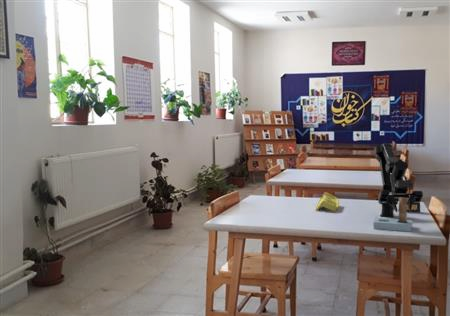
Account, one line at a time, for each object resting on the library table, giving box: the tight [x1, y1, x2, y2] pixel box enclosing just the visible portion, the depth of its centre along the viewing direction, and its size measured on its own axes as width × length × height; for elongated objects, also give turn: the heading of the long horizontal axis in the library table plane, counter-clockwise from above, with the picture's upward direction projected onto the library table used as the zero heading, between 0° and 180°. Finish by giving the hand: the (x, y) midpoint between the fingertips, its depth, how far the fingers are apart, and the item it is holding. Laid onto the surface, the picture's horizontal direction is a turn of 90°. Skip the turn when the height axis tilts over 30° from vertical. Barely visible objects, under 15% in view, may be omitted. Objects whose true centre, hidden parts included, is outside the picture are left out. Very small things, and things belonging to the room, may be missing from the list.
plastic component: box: [314, 191, 340, 212], centre depth 270 cm, size 20×7×10 cm
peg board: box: [373, 217, 413, 232], centre depth 223 cm, size 10×16×3 cm, turn 68°
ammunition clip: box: [397, 189, 421, 213], centre depth 258 cm, size 11×2×12 cm, turn 79°
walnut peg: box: [398, 197, 408, 223], centre depth 221 cm, size 3×3×14 cm
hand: (403, 211), depth 220 cm, fingers open, 6 cm apart
